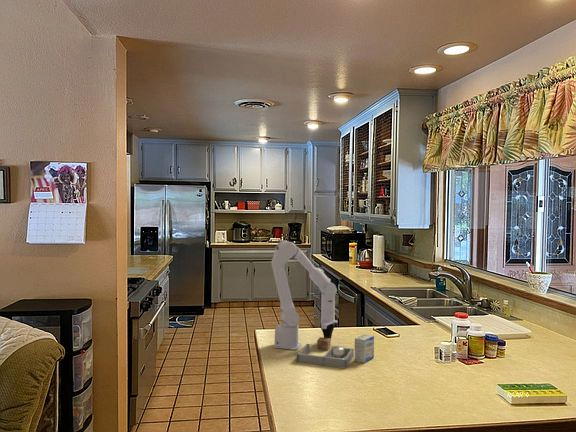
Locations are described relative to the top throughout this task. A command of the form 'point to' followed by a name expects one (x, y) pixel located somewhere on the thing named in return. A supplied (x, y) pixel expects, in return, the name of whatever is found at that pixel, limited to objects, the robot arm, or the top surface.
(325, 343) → the block
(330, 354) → the housing
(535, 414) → the top surface
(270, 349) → the top surface
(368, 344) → the medicine box
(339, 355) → the silver metal cylinder
